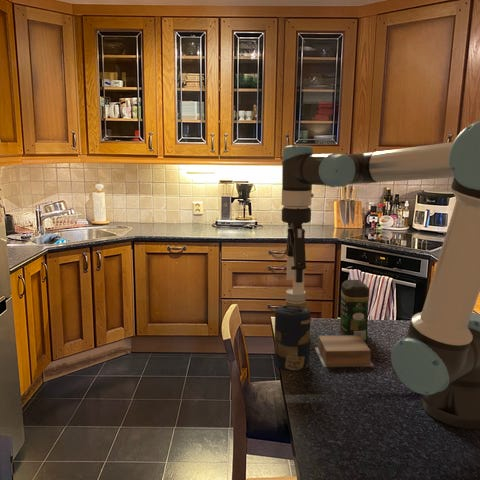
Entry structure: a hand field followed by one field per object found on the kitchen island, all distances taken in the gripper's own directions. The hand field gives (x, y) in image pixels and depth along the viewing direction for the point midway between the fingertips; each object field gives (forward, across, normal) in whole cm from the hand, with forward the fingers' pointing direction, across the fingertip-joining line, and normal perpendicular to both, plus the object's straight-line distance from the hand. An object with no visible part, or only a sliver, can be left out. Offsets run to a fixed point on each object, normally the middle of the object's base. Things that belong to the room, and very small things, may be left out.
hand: (294, 286), depth 128 cm
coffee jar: (+23, +20, -21) cm, 37 cm away
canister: (+23, -1, 0) cm, 23 cm away
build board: (+23, +2, -14) cm, 27 cm away
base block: (+21, +4, -14) cm, 26 cm away
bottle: (+23, +21, -3) cm, 32 cm away
